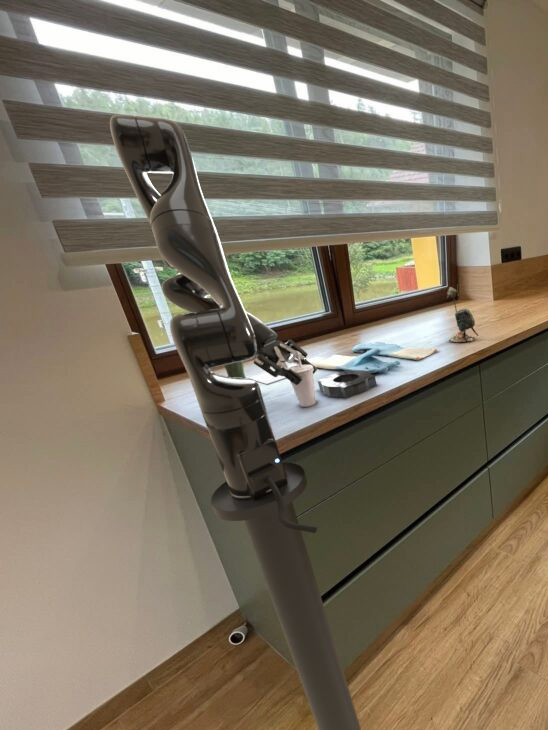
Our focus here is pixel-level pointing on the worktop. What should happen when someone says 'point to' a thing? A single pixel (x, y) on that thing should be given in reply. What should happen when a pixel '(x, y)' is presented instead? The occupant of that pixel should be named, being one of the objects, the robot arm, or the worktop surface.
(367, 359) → the rubber gloves
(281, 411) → the worktop surface
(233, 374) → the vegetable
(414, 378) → the worktop surface
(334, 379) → the board
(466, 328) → the ostrich figurine
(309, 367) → the smoothie
